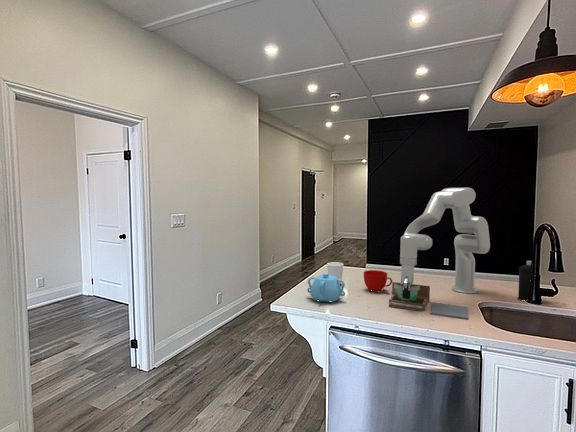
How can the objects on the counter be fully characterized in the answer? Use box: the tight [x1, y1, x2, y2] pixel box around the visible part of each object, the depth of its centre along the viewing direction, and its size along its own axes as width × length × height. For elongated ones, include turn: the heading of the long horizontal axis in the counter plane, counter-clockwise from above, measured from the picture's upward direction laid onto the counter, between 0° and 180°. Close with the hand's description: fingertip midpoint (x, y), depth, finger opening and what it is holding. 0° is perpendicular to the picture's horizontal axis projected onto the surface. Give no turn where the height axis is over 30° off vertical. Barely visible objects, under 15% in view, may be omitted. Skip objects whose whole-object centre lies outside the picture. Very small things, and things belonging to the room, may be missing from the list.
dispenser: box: [388, 281, 431, 312], centre depth 159 cm, size 17×18×8 cm
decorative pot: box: [306, 272, 346, 302], centre depth 167 cm, size 16×16×14 cm
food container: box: [394, 284, 420, 303], centre depth 157 cm, size 12×6×10 cm, turn 79°
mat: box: [429, 301, 469, 321], centre depth 149 cm, size 16×15×1 cm
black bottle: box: [517, 260, 532, 301], centre depth 163 cm, size 8×8×20 cm
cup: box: [326, 261, 344, 285], centre depth 195 cm, size 10×10×13 cm
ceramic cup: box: [363, 269, 393, 292], centre depth 181 cm, size 13×17×10 cm
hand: (407, 295), depth 157 cm, fingers open, 9 cm apart
